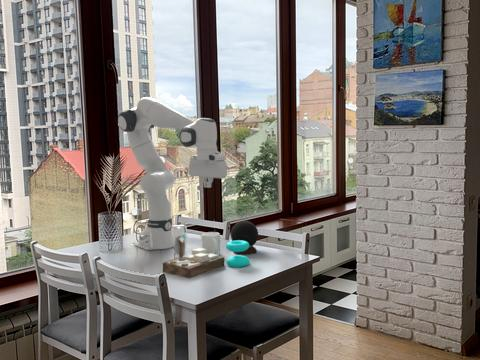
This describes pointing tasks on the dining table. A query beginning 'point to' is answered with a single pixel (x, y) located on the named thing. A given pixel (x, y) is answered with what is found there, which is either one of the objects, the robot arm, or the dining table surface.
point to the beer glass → (179, 240)
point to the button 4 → (212, 256)
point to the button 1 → (188, 257)
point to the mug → (211, 242)
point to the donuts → (238, 259)
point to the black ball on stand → (245, 235)
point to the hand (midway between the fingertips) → (207, 187)
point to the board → (191, 266)
